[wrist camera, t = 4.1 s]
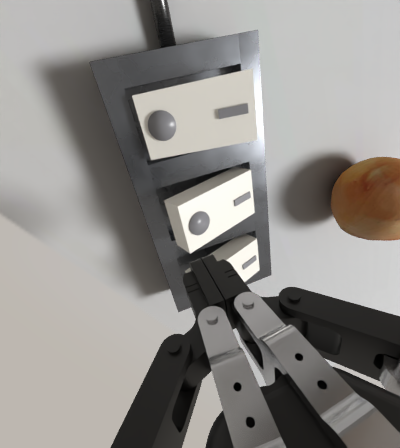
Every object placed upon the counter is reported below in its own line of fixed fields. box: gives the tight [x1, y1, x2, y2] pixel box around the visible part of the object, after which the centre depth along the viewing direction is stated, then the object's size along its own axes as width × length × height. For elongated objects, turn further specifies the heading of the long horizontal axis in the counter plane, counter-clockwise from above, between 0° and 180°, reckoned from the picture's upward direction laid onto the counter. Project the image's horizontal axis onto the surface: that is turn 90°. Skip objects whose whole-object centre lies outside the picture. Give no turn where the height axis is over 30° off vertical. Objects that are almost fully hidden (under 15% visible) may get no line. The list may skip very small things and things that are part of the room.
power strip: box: [90, 0, 271, 312], centre depth 22 cm, size 12×33×4 cm, turn 11°
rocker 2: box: [185, 234, 260, 282], centre depth 25 cm, size 8×4×2 cm, turn 101°
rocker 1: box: [132, 68, 257, 160], centre depth 17 cm, size 8×4×2 cm, turn 102°
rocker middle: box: [164, 167, 255, 254], centre depth 21 cm, size 8×4×2 cm, turn 101°
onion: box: [331, 157, 400, 240], centre depth 28 cm, size 10×10×10 cm
